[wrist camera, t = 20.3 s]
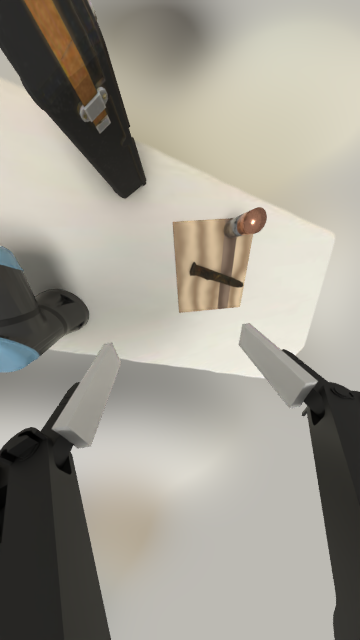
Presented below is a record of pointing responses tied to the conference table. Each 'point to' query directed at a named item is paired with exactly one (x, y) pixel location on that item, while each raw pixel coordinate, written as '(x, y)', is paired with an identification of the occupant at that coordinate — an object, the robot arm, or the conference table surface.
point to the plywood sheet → (209, 264)
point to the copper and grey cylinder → (246, 223)
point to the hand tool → (214, 276)
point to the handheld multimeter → (73, 81)
